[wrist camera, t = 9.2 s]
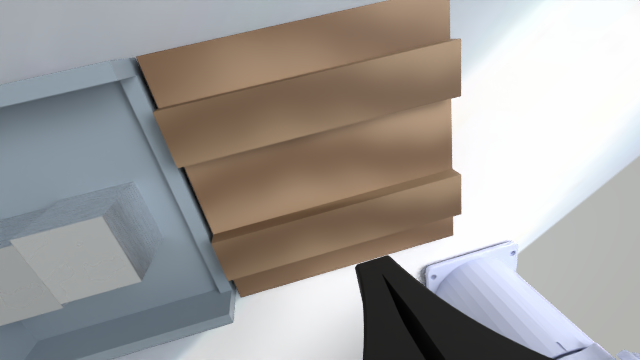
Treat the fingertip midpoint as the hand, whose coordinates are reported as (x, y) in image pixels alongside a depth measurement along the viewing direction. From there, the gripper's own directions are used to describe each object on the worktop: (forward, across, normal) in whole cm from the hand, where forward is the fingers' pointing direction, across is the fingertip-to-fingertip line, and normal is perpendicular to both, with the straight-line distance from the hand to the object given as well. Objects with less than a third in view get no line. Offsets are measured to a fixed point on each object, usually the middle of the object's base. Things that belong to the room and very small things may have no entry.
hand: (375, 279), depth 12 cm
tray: (+9, +15, -2) cm, 18 cm away
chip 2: (+9, +13, -2) cm, 16 cm away
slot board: (+9, 0, -2) cm, 9 cm away
